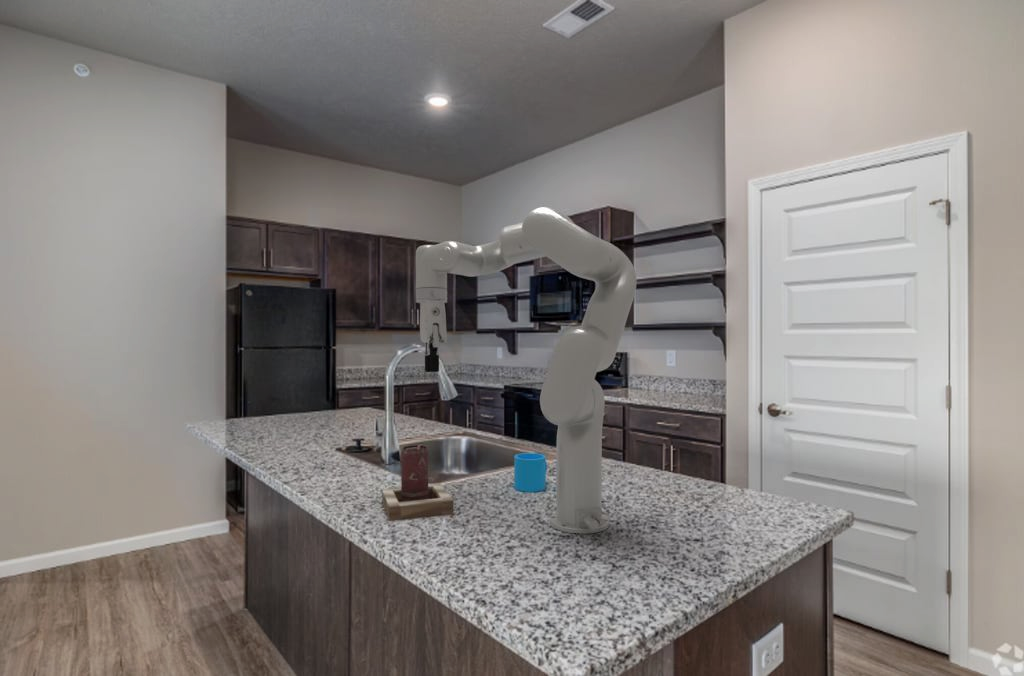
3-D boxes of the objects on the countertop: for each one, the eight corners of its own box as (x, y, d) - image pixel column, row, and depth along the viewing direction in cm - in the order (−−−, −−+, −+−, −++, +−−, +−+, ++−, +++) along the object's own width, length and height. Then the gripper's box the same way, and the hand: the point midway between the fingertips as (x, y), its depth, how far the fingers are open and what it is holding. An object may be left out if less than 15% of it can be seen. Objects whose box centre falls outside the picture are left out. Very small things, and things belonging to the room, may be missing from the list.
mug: (534, 493, 138) (534, 461, 138) (508, 488, 143) (508, 457, 143) (558, 483, 148) (558, 452, 148) (533, 478, 152) (533, 449, 152)
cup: (431, 503, 129) (431, 444, 129) (424, 512, 123) (424, 450, 123) (406, 503, 130) (406, 444, 130) (397, 511, 124) (397, 449, 124)
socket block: (453, 514, 122) (453, 499, 122) (389, 521, 117) (388, 506, 117) (440, 497, 135) (440, 483, 135) (382, 503, 130) (382, 489, 130)
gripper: (453, 294, 128) (454, 373, 128) (440, 299, 142) (440, 369, 142) (421, 293, 126) (422, 374, 126) (411, 298, 140) (411, 370, 140)
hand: (431, 371), depth 134 cm, fingers closed
